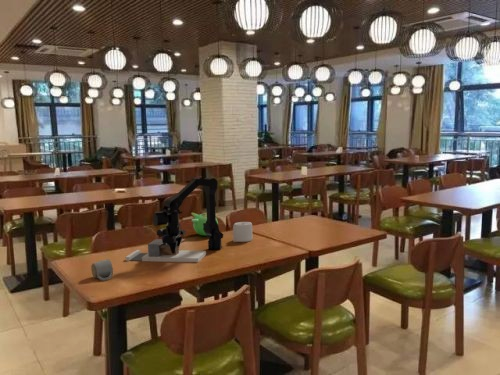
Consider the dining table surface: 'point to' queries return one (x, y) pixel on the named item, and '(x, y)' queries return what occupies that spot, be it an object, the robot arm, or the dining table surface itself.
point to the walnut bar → (168, 250)
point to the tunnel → (155, 248)
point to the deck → (168, 256)
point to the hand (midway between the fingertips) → (175, 252)
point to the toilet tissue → (242, 232)
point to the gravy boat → (199, 223)
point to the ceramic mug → (102, 269)
